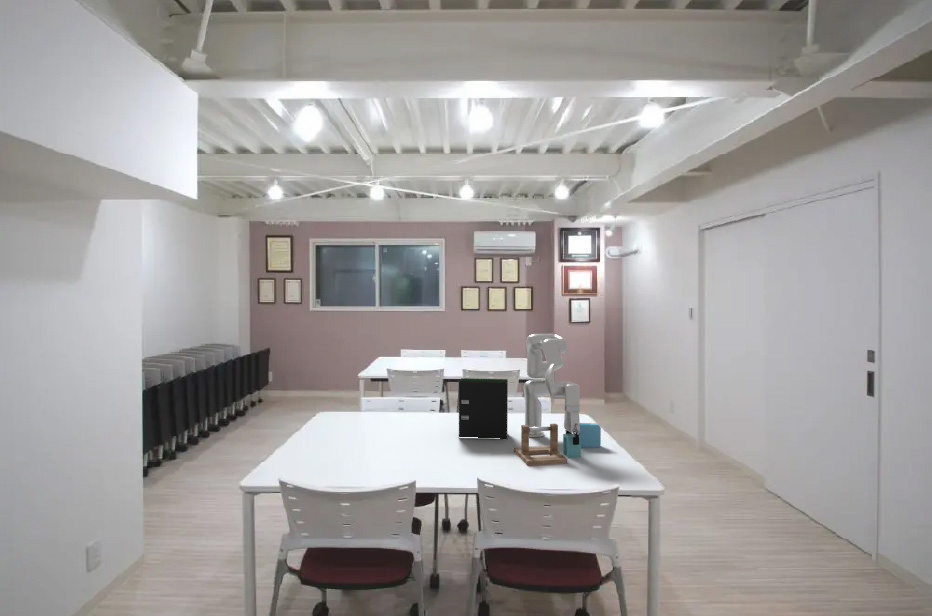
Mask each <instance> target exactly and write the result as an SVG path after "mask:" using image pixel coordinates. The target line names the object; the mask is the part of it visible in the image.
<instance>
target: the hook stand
mask: <svg viewBox="0 0 932 616" xmlns="http://www.w3.org/2000/svg"><path fill="white" fill-rule="evenodd" d="M520 429H521V434H520V435H521V436H520V437H521V439H520V440H521V441H520V444H521V445H520V446H517V447H516V446H514V447H513V452H514V453H515V454H516V455H517V456H518V457H519V458H520V459H521V460H522V462H523V463H524V464H525V465H526V466H541V465H559V464H560V465H561V464H568V457H566V456H564V454H563V453H561V452H560V451H558V449H559V425H558V424H557V423H550V424H549V426H541V427H529V426H528V425H525V424H522V425H521V428H520ZM531 431H542V432H547V431H548V432H549V445H535V446H533V445H532V446H530V437H529V432H531ZM541 454H543V455H541ZM545 454H548V455H545ZM531 455H534V456H531Z"/></svg>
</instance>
